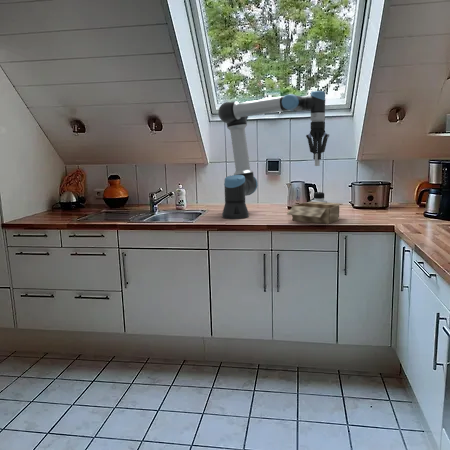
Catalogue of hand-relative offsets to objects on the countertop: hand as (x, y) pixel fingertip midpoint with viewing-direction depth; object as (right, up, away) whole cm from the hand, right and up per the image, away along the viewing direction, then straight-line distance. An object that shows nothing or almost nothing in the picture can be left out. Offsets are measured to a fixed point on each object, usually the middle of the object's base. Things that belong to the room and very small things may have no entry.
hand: (317, 165), depth 243 cm
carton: (0, -29, -1) cm, 29 cm away
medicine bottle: (+5, -25, +20) cm, 32 cm away
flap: (-6, -23, -10) cm, 26 cm away
